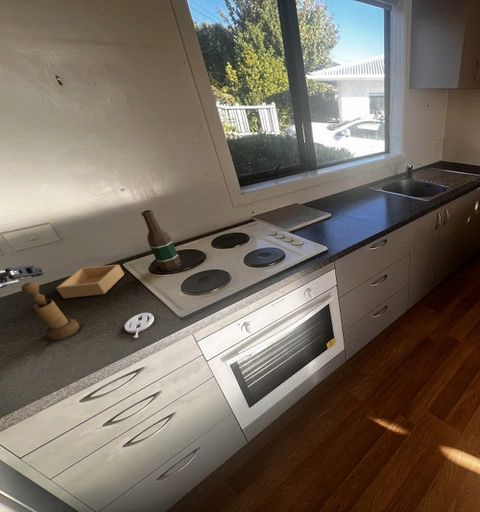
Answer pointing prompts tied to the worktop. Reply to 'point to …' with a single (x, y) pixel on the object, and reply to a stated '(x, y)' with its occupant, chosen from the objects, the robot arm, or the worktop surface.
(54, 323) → the mortar and pestle
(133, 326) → the pendant
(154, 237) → the beer bottle
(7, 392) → the worktop surface
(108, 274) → the wooden tray
